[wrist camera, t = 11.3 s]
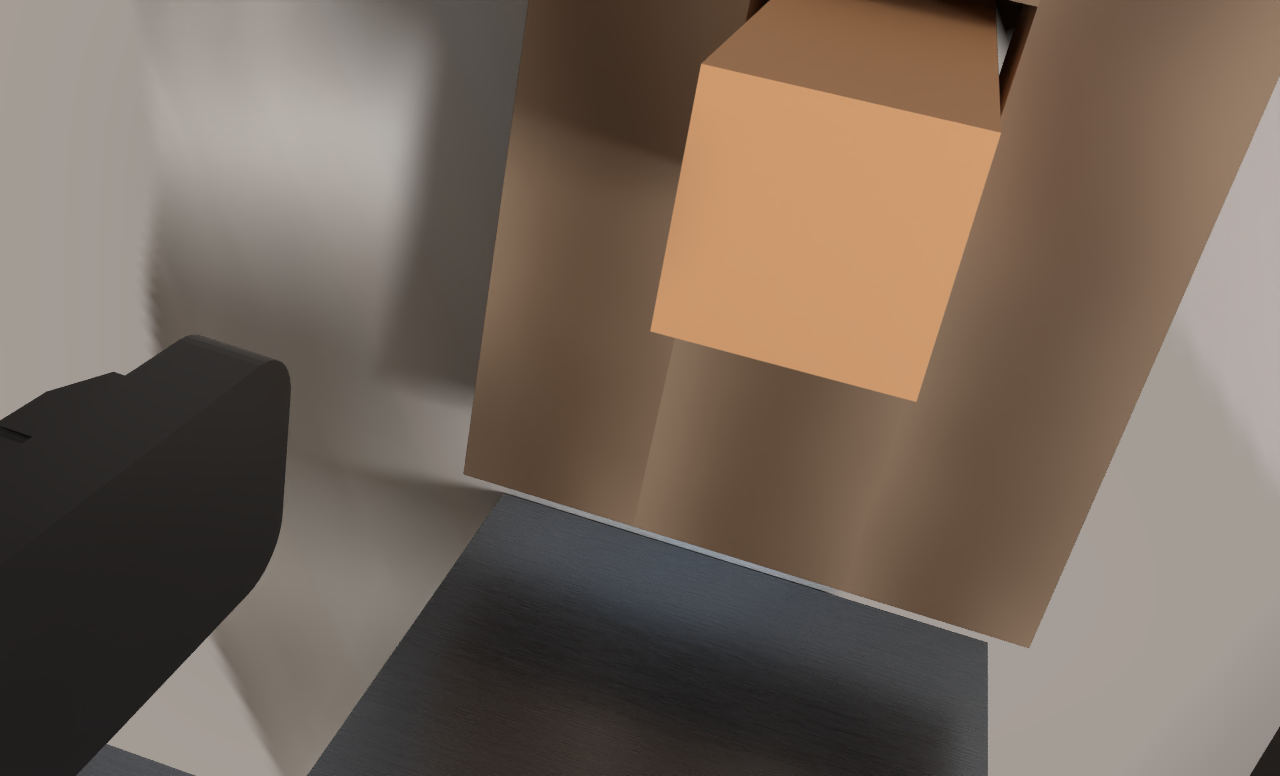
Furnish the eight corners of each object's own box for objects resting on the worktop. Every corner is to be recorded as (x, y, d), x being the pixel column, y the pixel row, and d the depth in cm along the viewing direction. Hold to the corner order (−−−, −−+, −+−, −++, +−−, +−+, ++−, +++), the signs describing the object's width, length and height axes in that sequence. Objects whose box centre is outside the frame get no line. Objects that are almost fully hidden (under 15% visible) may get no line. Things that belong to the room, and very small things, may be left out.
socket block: (1293, -94, 24) (1346, -76, 20) (1023, 554, 31) (1028, 648, 28) (619, -241, 26) (562, -247, 22) (518, 403, 33) (463, 474, 30)
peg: (995, -1, 26) (1001, 133, 16) (942, 176, 28) (916, 401, 17) (813, -40, 27) (700, 63, 16) (773, 136, 28) (650, 331, 18)
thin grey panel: (1078, 423, 30) (1202, 1265, 13) (976, 670, 33) (964, 1576, 16) (539, 271, 31) (12, 824, 14) (499, 521, 35) (45, 1193, 18)
